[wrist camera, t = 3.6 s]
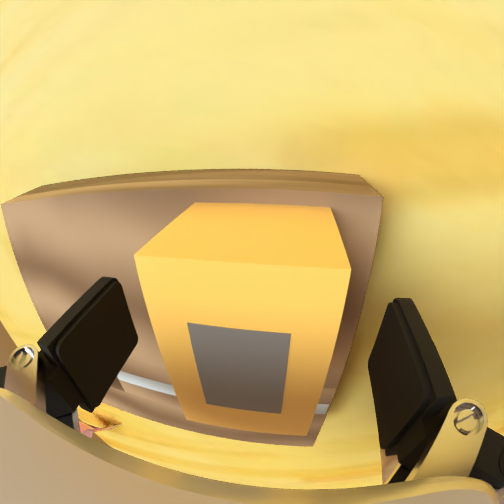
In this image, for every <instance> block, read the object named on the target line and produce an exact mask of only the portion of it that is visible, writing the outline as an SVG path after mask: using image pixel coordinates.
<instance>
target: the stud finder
mask: <svg viewBox="0 0 504 504" xmlns="http://www.w3.org/2000/svg"><path fill="white" fill-rule="evenodd" d="M134 259H135V263H136V267H137V272H138V276H139V280H140V284H141V288H142V292H143V296H144V299H145V303H146V307H147V310H148V314H149V317H150V321H151V324H152V327H153V331H154V334H155V337H156V340H157V343H158V346H159V349H160V352H161V355H162V358H163V361H164V364H165V367H166V369H167V372H168V375H169V378H170V380H171V383H172V385H173V388H174V391H175V393H176V396H177V398H178V401H179V403H180V405H181V408H182V410H183V413H184V415H185V417H186V420H190V421H194V422H199V423H204V424H209V425H214V426H219V427H225V428H231V429H237V430H244V431H252V432H260V433H270V434H282V435H298V436H307V434H308V431H309V428H310V425H311V423H312V420H313V417H314V414H315V411H316V408H317V405H318V402H319V399H320V396H321V392H322V389H323V386H324V383H325V379H326V376H327V373H328V369H329V366H330V362H331V358H332V355H333V351H334V347H335V343H336V339H337V335H338V331H339V327H340V323H341V318H342V314H343V309H344V305H345V300H346V295H347V290H348V285H349V280H350V274H351V267H350V263H349V260H348V257H347V254H346V251H345V248H344V245H343V242H342V239H341V236H340V233H339V230H338V227H337V224H336V221H335V219H334V216H333V213H332V210H331V208H330V207H317V206H300V205H280V204H254V203H203V202H195V203H194V204H193V205H191V206H190V207H189V208H188V209H186V210H185V211H184V212H183V213H182V214H180V215H179V216H178V217H177V218H176V219H174V220H173V221H172V222H171V223H170V224H169V225H167V226H166V227H165V228H164V229H163V230H161V231H160V232H159V233H158V234H157V235H156V236H155V237H153V238H152V239H151V240H150V241H149V242H148V243H147V244H145V245H144V246H143V247H142V248H141V249H140V250H139V251H138V252H137V253H135V254H134Z"/></svg>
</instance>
